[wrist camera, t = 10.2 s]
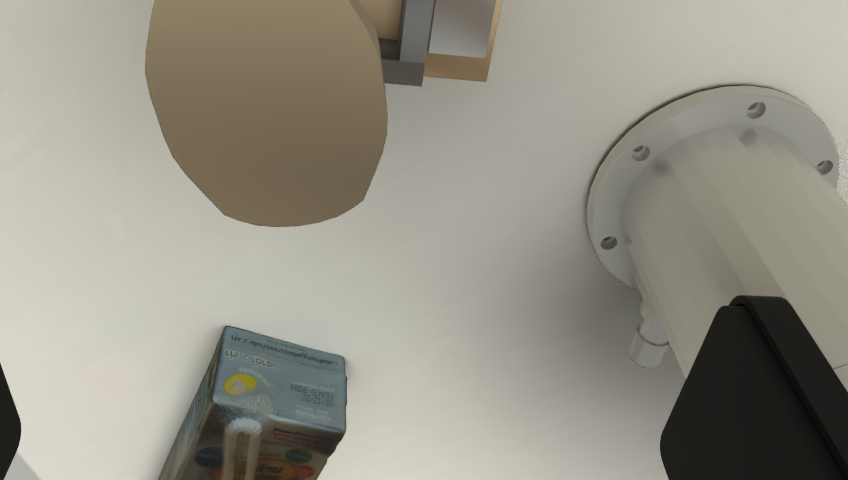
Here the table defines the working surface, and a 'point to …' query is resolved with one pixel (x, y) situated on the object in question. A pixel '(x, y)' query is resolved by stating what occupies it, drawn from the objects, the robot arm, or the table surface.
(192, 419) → the beverage carton
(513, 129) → the table surface
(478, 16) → the wooden tray
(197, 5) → the handle
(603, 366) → the table surface
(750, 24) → the table surface
